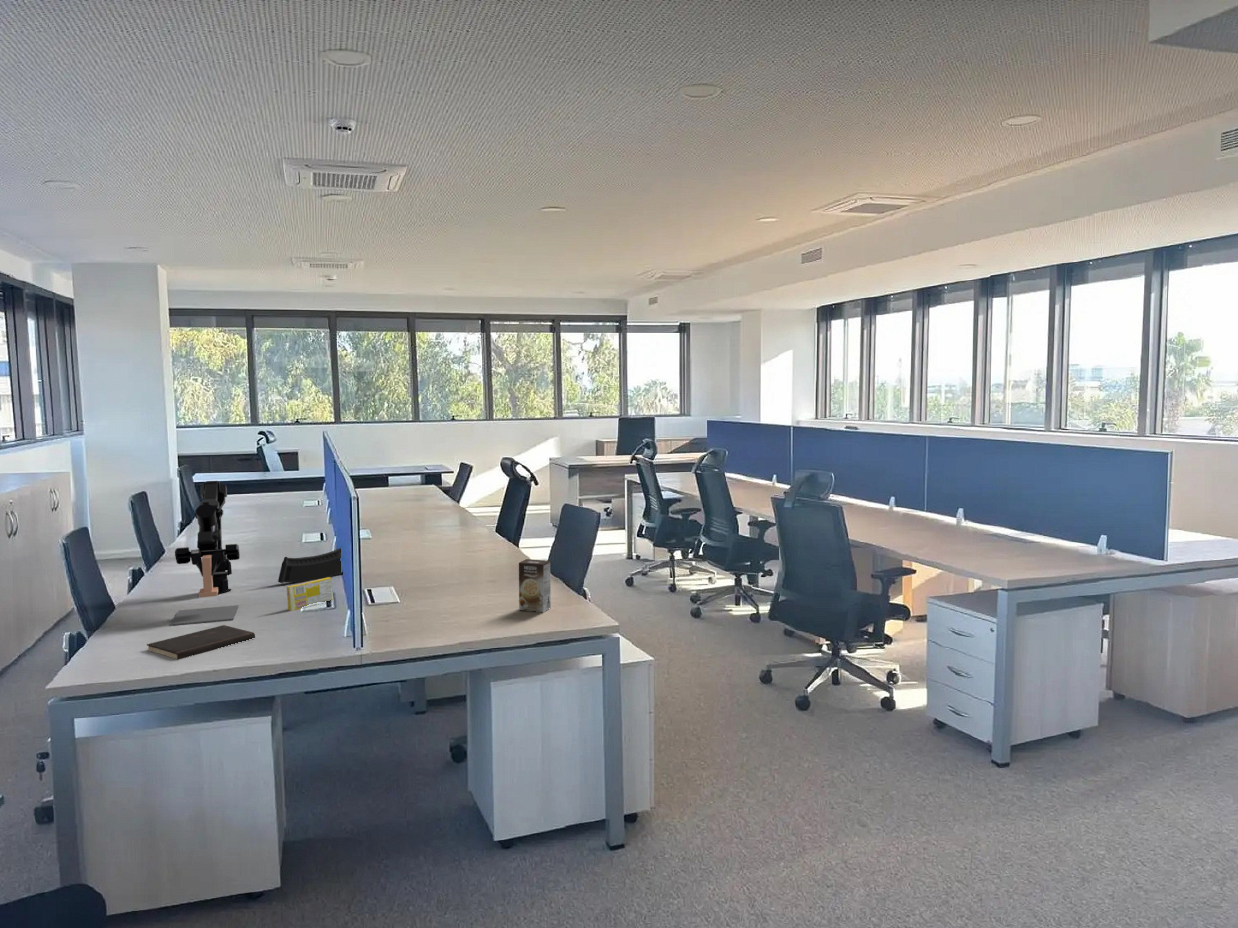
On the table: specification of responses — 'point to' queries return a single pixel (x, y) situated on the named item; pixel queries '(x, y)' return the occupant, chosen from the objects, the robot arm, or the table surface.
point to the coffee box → (534, 585)
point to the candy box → (309, 593)
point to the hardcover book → (200, 641)
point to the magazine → (310, 567)
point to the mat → (204, 615)
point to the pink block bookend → (207, 578)
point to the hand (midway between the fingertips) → (207, 575)
